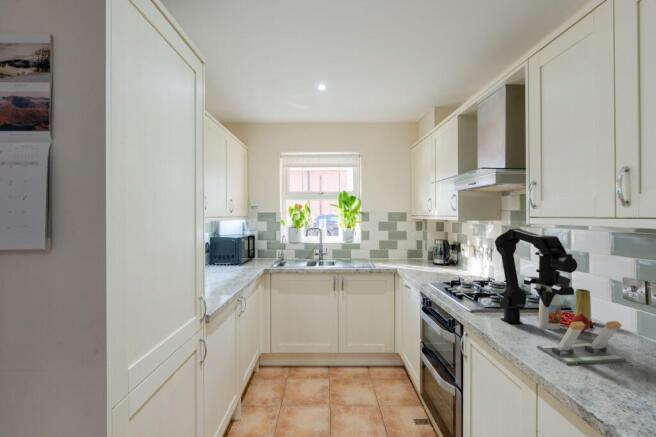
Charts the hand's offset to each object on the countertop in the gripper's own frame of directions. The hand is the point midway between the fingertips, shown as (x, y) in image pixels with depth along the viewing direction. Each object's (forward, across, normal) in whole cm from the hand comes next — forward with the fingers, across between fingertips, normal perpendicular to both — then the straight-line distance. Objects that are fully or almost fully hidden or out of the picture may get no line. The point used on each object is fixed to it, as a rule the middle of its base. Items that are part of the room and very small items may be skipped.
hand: (546, 307), depth 125 cm
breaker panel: (+13, -13, -2) cm, 18 cm away
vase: (+13, +17, -33) cm, 39 cm away
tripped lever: (+11, -13, +5) cm, 18 cm away
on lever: (+11, -13, -8) cm, 19 cm away
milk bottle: (+13, +12, -12) cm, 21 cm away
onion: (+13, +6, -21) cm, 26 cm away
